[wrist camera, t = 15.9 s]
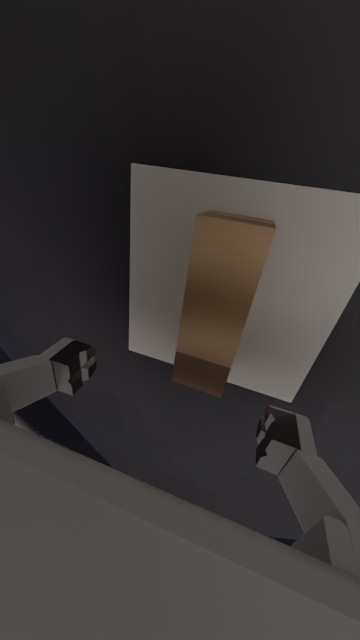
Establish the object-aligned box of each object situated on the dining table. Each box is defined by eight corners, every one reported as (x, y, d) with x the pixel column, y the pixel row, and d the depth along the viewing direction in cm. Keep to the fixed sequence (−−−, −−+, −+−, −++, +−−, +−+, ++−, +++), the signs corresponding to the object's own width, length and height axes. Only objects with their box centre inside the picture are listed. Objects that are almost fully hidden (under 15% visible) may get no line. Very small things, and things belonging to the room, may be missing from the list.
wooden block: (211, 210, 15) (195, 214, 12) (273, 220, 14) (276, 228, 11) (186, 351, 21) (171, 380, 18) (228, 364, 20) (221, 397, 17)
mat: (131, 346, 24) (128, 349, 24) (135, 163, 16) (130, 162, 15) (290, 397, 21) (291, 402, 20) (400, 199, 12) (405, 200, 12)
